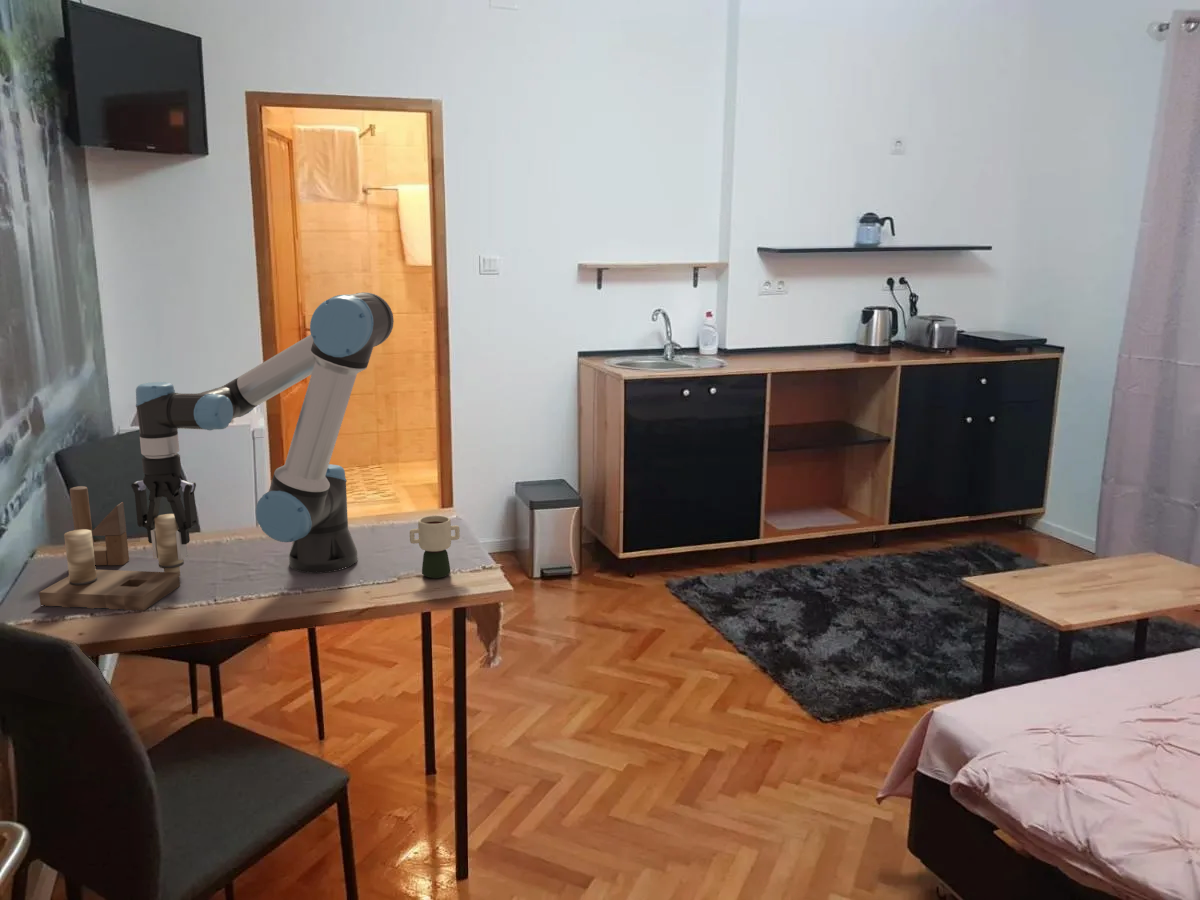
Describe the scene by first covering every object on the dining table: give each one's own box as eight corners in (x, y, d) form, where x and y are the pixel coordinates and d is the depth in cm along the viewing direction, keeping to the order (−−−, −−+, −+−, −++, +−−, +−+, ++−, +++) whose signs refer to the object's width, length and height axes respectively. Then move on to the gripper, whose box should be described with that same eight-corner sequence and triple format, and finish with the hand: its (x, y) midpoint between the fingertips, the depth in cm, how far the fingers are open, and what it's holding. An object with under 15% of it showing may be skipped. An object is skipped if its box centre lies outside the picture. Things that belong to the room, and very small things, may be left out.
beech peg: (189, 572, 215) (183, 514, 212) (177, 579, 210) (171, 520, 207) (167, 571, 216) (161, 513, 213) (155, 579, 211) (149, 519, 208)
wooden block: (123, 565, 219) (115, 489, 215) (74, 566, 218) (65, 490, 214) (130, 560, 223) (122, 485, 219) (81, 561, 222) (72, 485, 218)
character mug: (458, 568, 219) (456, 513, 216) (463, 578, 212) (461, 522, 209) (409, 572, 215) (407, 517, 213) (413, 583, 209) (411, 526, 206)
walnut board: (180, 585, 207) (174, 525, 204) (144, 610, 193) (137, 546, 190) (82, 582, 208) (75, 522, 206) (40, 606, 195) (32, 542, 192)
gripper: (209, 451, 210) (218, 553, 215) (130, 449, 211) (141, 550, 216) (192, 459, 202) (201, 564, 208) (110, 457, 204) (122, 561, 209)
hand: (170, 557), depth 212 cm, fingers closed on beech peg, 5 cm apart
